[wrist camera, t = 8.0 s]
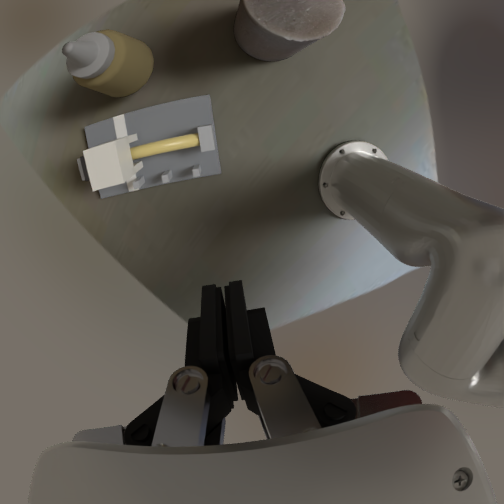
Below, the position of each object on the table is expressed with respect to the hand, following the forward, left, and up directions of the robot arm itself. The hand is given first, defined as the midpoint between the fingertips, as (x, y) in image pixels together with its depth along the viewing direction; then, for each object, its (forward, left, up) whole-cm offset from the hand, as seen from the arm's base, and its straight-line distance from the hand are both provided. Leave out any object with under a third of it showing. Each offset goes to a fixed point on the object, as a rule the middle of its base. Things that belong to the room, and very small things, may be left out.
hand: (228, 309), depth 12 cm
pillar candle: (-9, -19, -29) cm, 36 cm away
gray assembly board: (+9, -5, -29) cm, 31 cm away
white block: (+12, -5, -27) cm, 30 cm away
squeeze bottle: (+10, -16, -29) cm, 35 cm away
